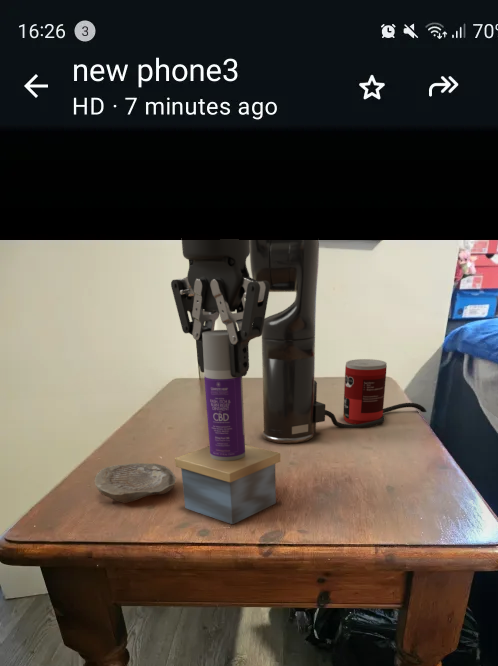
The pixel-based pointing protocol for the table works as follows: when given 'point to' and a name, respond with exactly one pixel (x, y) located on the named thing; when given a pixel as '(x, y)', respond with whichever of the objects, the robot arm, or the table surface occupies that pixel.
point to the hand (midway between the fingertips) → (223, 373)
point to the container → (223, 399)
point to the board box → (229, 483)
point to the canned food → (364, 390)
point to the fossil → (134, 481)
